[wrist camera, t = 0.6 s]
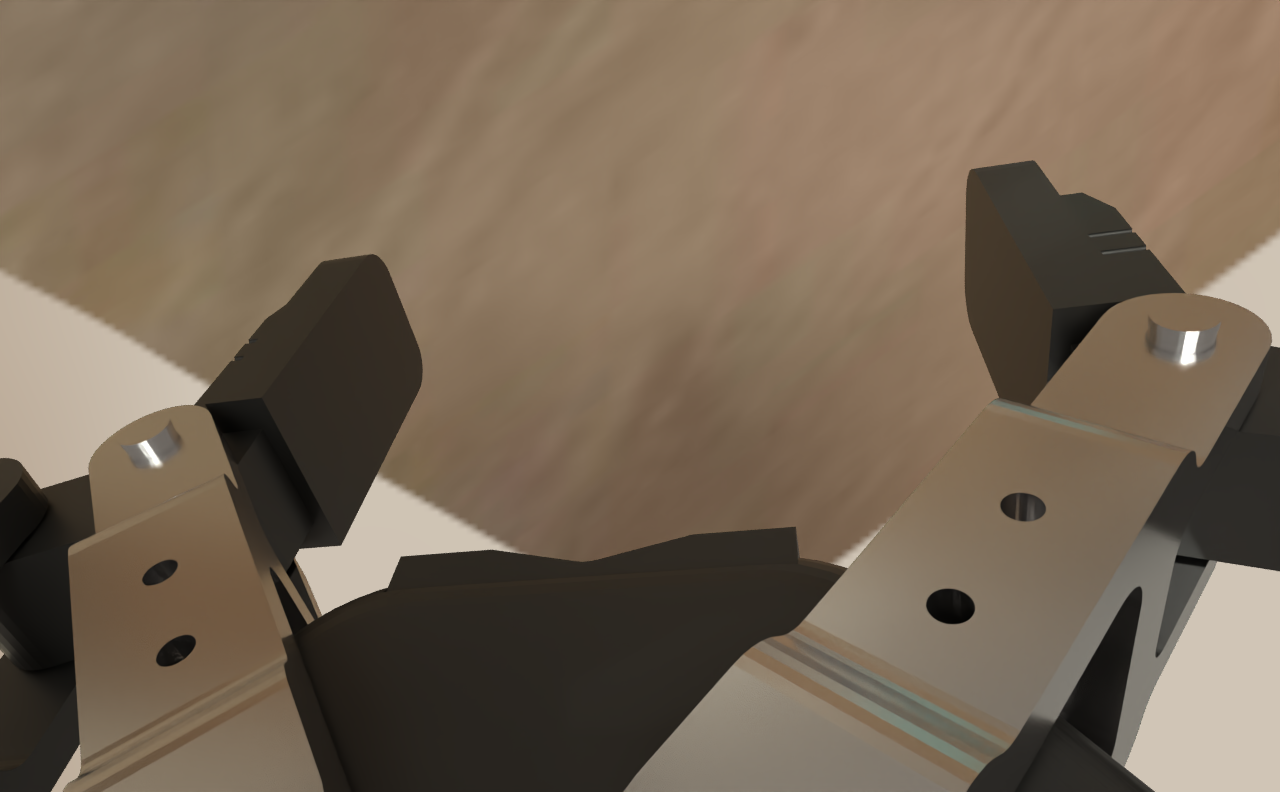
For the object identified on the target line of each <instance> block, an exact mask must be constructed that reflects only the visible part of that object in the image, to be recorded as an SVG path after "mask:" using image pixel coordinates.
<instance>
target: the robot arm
mask: <svg viewBox="0 0 1280 792" xmlns="http://www.w3.org/2000/svg"><path fill="white" fill-rule="evenodd" d="M965 296H966V305H967V312H968V317H969V322H970V325H971V328H972V331H973V334H974V336H975V339H976V341H977V343H978V346H979V348H980V351H981V353H982V356H983V358H984V361H985V363H986V366H987V368H988V371H989V373H990V376H991V378H992V381H993V383H994V386H995V388H996V391H997V393H998V396H999V398H998V399H995V400H994V401H992V402H991V403H990V404H989V405H988V406H987V407H986V408H985V409H984V410H983V411H982V412H981V413H980V414H979V416H978V417H977V418H976V419H975V420H974V421H973V423H972V424H971V425H970V426H969V427H968V428H967V430H966V431H965V432H964V433H963V434H962V435H961V437H960V438H959V439H958V440H957V441H956V443H955V444H954V445H953V446H952V447H951V448H950V450H949V451H948V452H947V453H946V454H945V455H944V457H943V458H942V459H941V460H940V461H939V462H938V464H937V465H936V466H935V467H934V468H933V469H932V471H931V472H930V473H929V474H928V475H927V476H926V478H925V479H924V480H923V481H922V482H921V483H920V485H919V486H918V487H917V488H916V489H915V491H914V492H913V493H912V494H911V495H910V496H909V498H908V499H907V500H906V501H905V502H904V503H903V505H902V506H901V507H900V508H899V509H898V510H897V512H896V513H895V514H894V515H893V516H892V517H891V519H890V520H889V521H888V522H887V523H886V524H885V526H884V527H883V528H882V529H881V530H880V531H879V533H878V534H877V535H876V536H875V537H874V539H873V540H872V541H871V542H870V543H869V544H868V546H867V547H866V548H865V549H864V550H863V551H862V553H861V554H860V555H859V556H858V557H857V559H856V560H855V561H854V562H853V563H852V564H851V565H850V567H849V568H845V567H842V566H838V565H834V564H830V563H825V562H821V561H817V560H810V559H804V558H800V557H799V549H798V541H797V534H796V527H788V528H775V529H761V530H748V531H735V532H721V533H708V534H695V535H689V536H686V537H682V538H678V539H674V540H670V541H667V542H663V543H659V544H655V545H652V546H648V547H644V548H640V549H636V550H633V551H629V552H625V553H621V554H618V555H614V556H610V557H606V558H602V559H599V560H594V561H588V562H577V561H569V560H562V559H555V558H548V557H540V556H533V555H526V554H519V553H511V552H504V551H497V550H484V551H483V550H482V551H469V552H456V553H443V554H430V555H417V556H404V557H401V558H400V560H399V562H398V565H397V567H396V570H395V572H394V574H393V577H392V579H391V582H390V584H389V586H388V588H385V589H382V590H379V591H376V592H373V593H371V594H368V595H365V596H362V597H359V598H357V599H355V600H353V601H350V602H348V603H346V604H344V605H342V606H340V607H337V608H335V609H333V610H332V611H330V612H328V613H326V614H324V615H323V616H322V614H321V612H320V610H319V607H318V605H317V602H316V600H315V598H314V595H313V593H312V591H311V588H310V586H309V584H308V581H307V579H306V577H305V575H304V573H303V571H302V570H301V568H300V566H299V565H298V563H297V561H296V559H295V556H296V554H297V552H298V551H299V549H302V548H315V547H327V546H340V545H342V542H343V540H344V539H345V537H346V535H347V533H348V531H349V529H350V527H351V525H352V523H353V521H354V519H355V516H356V515H357V513H358V511H359V509H360V507H361V505H362V503H363V501H364V498H365V497H366V495H367V493H368V491H369V489H370V487H371V485H372V483H373V481H374V479H375V477H376V475H377V473H378V471H379V469H380V467H381V465H382V463H383V461H384V459H385V457H386V455H387V453H388V451H389V449H390V447H391V445H392V443H393V441H394V439H395V437H396V435H397V433H398V431H399V429H400V427H401V425H402V423H403V421H404V419H405V417H406V415H407V413H408V411H409V409H410V407H411V405H412V403H413V401H414V399H415V397H416V395H417V393H418V391H419V389H420V386H421V382H422V373H423V369H422V359H421V354H420V350H419V347H418V344H417V341H416V339H415V336H414V334H413V331H412V329H411V326H410V324H409V321H408V319H407V316H406V314H405V311H404V308H403V306H402V303H401V301H400V298H399V296H398V293H397V291H396V288H395V286H394V283H393V281H392V278H391V276H390V273H389V271H388V269H387V267H386V265H385V264H384V262H383V261H382V260H381V259H380V258H379V257H378V256H376V255H373V254H371V255H363V256H356V257H349V258H342V259H335V260H329V261H324V262H321V263H320V264H319V265H318V267H317V268H316V269H315V270H314V271H313V273H312V274H311V275H310V276H309V278H308V279H307V280H306V281H305V282H304V284H303V285H302V286H301V287H300V289H299V290H298V291H297V292H296V293H295V295H294V296H293V297H292V298H291V300H290V301H289V302H288V303H287V304H286V305H285V306H284V307H282V308H281V309H279V310H278V311H277V312H275V313H274V314H272V315H271V316H269V317H268V318H267V319H266V320H265V321H264V322H263V323H262V324H261V326H260V327H259V328H258V329H257V330H256V332H255V333H254V334H253V335H252V336H251V338H250V339H249V344H245V345H244V346H243V347H242V348H241V350H240V351H239V352H238V353H237V354H236V356H235V357H234V358H235V361H231V362H230V363H229V364H228V365H227V366H226V368H225V369H224V370H223V371H222V372H221V374H220V375H219V376H218V377H217V378H216V380H215V381H214V382H213V383H212V384H211V386H210V387H209V388H208V389H207V390H206V392H205V393H204V394H203V395H202V397H201V398H200V399H199V400H198V401H197V402H196V404H195V405H183V406H176V407H171V408H167V409H163V410H160V411H157V412H154V413H152V414H149V415H146V416H144V417H142V418H140V419H138V420H136V421H134V422H132V423H130V424H128V425H127V426H125V427H124V428H122V429H120V430H119V431H117V432H116V433H115V434H113V435H112V436H111V437H109V438H108V439H107V440H106V441H105V442H104V443H103V444H101V446H100V447H99V448H98V449H97V450H96V451H95V453H94V454H93V456H92V457H91V460H90V463H89V475H86V476H83V477H79V478H76V479H73V480H69V481H66V482H63V483H59V484H56V485H53V486H49V487H46V488H43V489H40V488H39V486H38V485H37V484H36V483H35V481H34V480H33V479H32V477H31V476H30V475H29V473H28V472H27V471H26V469H25V468H24V467H23V466H22V464H21V463H20V462H19V461H17V460H14V459H9V458H1V459H0V650H1V651H2V652H3V653H4V655H3V656H2V658H1V659H0V792H51V791H52V789H53V787H54V786H55V784H56V782H57V781H58V779H59V777H60V776H61V774H62V772H63V771H64V769H65V768H66V766H67V764H68V762H69V761H70V759H71V758H72V756H73V754H74V753H75V751H76V749H77V748H78V746H79V744H80V752H81V770H80V774H79V776H78V778H77V779H75V780H73V781H72V782H70V783H68V784H67V785H66V787H65V788H64V790H63V792H1155V791H1153V790H1152V789H1151V788H1149V787H1148V786H1147V785H1146V784H1144V783H1143V782H1142V781H1141V780H1139V779H1138V778H1137V777H1136V776H1134V775H1133V774H1132V773H1131V772H1129V771H1128V770H1127V769H1126V768H1124V766H1125V764H1126V761H1127V759H1128V757H1129V754H1130V752H1131V749H1132V747H1133V744H1134V741H1135V739H1136V736H1137V733H1138V730H1139V727H1140V724H1141V720H1142V718H1143V714H1144V712H1145V709H1146V706H1147V704H1148V701H1149V699H1150V696H1151V694H1152V691H1153V689H1154V687H1155V685H1156V683H1157V681H1158V679H1159V677H1160V675H1161V673H1162V671H1163V669H1164V667H1165V665H1166V663H1167V661H1168V659H1169V657H1170V655H1171V653H1172V651H1173V649H1174V647H1175V645H1176V643H1177V641H1178V639H1179V637H1180V636H1181V634H1182V632H1183V629H1184V628H1185V626H1186V624H1187V622H1188V620H1189V618H1190V616H1191V614H1192V612H1193V610H1194V608H1195V606H1196V604H1197V602H1198V600H1199V598H1200V596H1201V594H1202V592H1203V590H1204V588H1205V586H1206V584H1207V582H1208V580H1209V578H1210V576H1211V574H1212V572H1213V570H1214V568H1215V566H1216V563H1217V561H1219V562H1225V563H1231V564H1238V565H1244V566H1250V567H1257V568H1263V569H1270V570H1276V571H1280V348H1278V347H1273V346H1271V343H1272V336H1271V332H1270V330H1269V327H1268V326H1267V325H1266V324H1265V322H1264V321H1263V320H1262V319H1261V318H1259V317H1258V316H1257V315H1255V314H1254V313H1252V312H1251V311H1249V310H1247V309H1245V308H1243V307H1241V306H1239V305H1236V304H1234V303H1231V302H1228V301H1225V300H1222V299H1218V298H1213V297H1209V296H1203V295H1196V294H1186V293H1185V292H1184V291H1183V290H1182V288H1181V287H1180V286H1179V285H1178V283H1177V282H1176V281H1175V280H1174V279H1173V277H1172V276H1171V275H1170V274H1169V273H1168V271H1167V270H1166V269H1165V268H1164V267H1163V265H1162V264H1161V263H1160V262H1159V260H1158V259H1157V258H1156V257H1155V256H1154V254H1153V253H1152V252H1151V251H1150V250H1146V245H1145V244H1144V242H1143V241H1142V240H1141V239H1140V237H1139V236H1138V235H1137V234H1136V233H1132V228H1131V227H1130V225H1129V224H1128V223H1127V222H1126V221H1125V219H1124V218H1123V217H1122V216H1121V214H1120V213H1119V212H1118V211H1117V210H1116V208H1114V207H1112V206H1110V205H1108V204H1106V203H1103V202H1101V201H1099V200H1097V199H1095V198H1093V197H1090V196H1088V195H1086V194H1084V193H1076V194H1068V195H1061V196H1060V195H1059V194H1058V192H1057V191H1056V189H1055V188H1054V187H1053V185H1052V184H1051V182H1050V181H1049V180H1048V178H1047V177H1046V176H1045V174H1044V173H1043V171H1042V170H1041V169H1040V167H1039V166H1038V165H1037V163H1036V162H1035V161H1033V160H1032V161H1025V162H1018V163H1012V164H1005V165H998V166H991V167H984V168H977V169H971V170H970V172H969V175H968V179H967V188H966V239H965Z"/></svg>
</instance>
